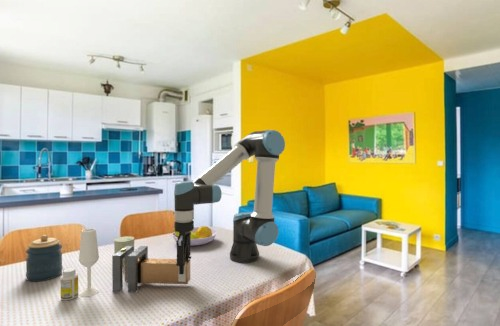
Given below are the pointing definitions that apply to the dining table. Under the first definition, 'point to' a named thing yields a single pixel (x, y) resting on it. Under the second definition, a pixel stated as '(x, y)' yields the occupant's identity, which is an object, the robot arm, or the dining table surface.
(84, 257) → the champagne flute
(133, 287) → the collar
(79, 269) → the dining table surface
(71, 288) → the supplement bottle
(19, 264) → the dining table surface
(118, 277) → the collar
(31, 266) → the canister
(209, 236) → the fruit bowl
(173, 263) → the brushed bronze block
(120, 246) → the can
